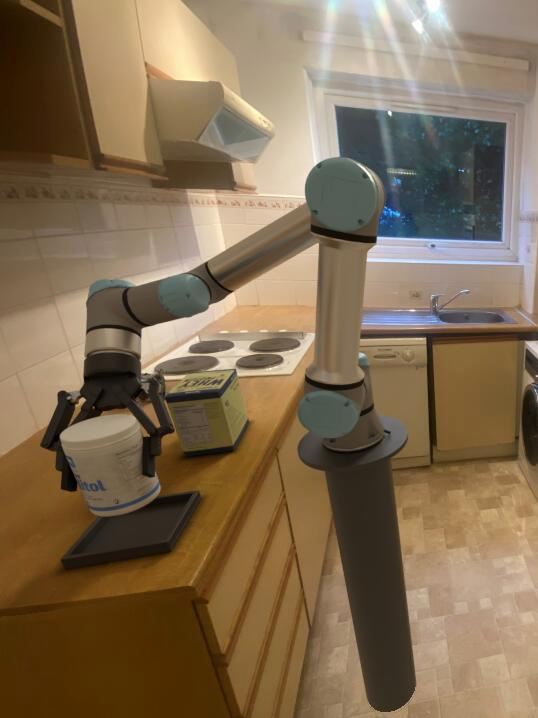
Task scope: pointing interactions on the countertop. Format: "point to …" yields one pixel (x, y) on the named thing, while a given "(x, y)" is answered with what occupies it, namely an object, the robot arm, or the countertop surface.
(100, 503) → the supplement tub
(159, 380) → the grey furry lump
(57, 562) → the countertop surface
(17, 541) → the countertop surface
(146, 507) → the pad
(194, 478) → the countertop surface
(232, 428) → the protein box
